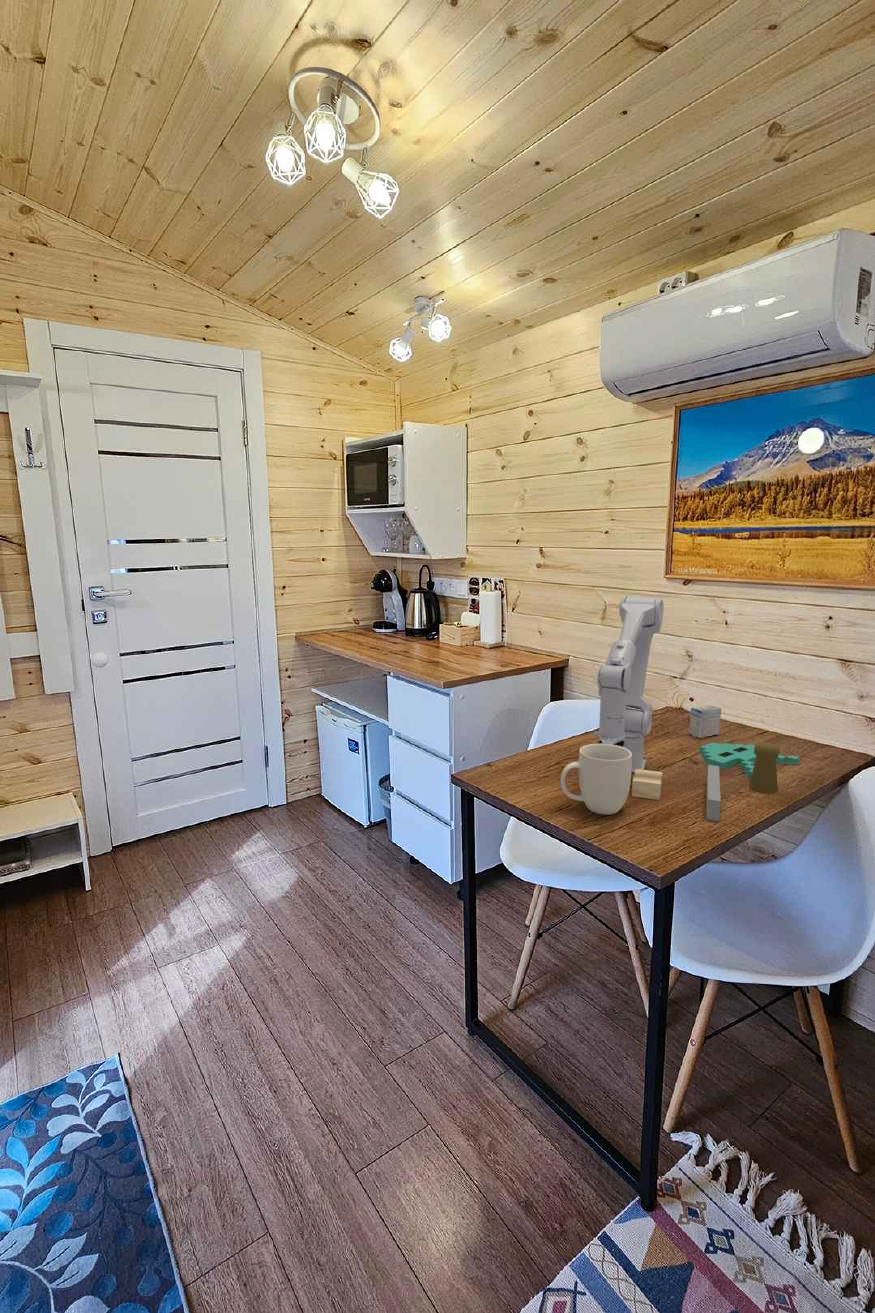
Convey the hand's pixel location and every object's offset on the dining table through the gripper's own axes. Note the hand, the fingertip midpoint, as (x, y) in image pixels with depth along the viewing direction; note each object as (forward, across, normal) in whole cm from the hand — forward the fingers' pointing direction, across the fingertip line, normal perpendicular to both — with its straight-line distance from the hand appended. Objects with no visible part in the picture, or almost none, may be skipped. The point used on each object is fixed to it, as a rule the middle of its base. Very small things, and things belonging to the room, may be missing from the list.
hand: (610, 771), depth 147 cm
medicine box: (+4, -51, +20) cm, 55 cm away
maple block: (+4, 0, +8) cm, 9 cm away
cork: (+4, -12, +34) cm, 36 cm away
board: (+4, 0, +22) cm, 23 cm away
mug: (+4, +14, 0) cm, 14 cm away
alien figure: (+4, -31, +30) cm, 43 cm away
